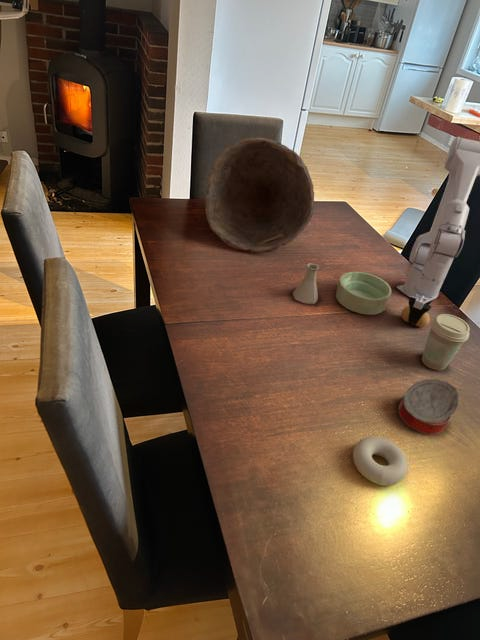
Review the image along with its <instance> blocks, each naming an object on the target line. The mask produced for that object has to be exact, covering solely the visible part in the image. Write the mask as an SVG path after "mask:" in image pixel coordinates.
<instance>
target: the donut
mask: <svg viewBox="0 0 480 640" xmlns="http://www.w3.org/2000/svg"><path fill="white" fill-rule="evenodd" d="M374 455H375V456H376V455H377V456H379V457H382V458H384V460H386V461H387V463H388V465H382V464H379V463H378V462H376V461H375V460H374V458H373V456H374ZM352 458H353V464H354V465H355V467H356V470H357V471H358V472H359V473H360V475H362V476H363V477H364V478H366V480H368V481H370V482H372V483H374V484H377V485H379V486H386V487H387V486H394V485H397V484H399V483H400V482H403V480H404V479H405V477H406V476H407V474H408V469H409V464H408V459H407V456H406V454H405V453H404V452H403V449H401V448H400V447H399V446H398V445H397V444H396V443H395V442H393V441H391V440H389V439H388V438H385V437H382V436H375V435H373V436H372V435H371V436H366V437H364V438H362V439H360V440H359V441H358V442H357V443H356V444H355V446H354V447H353V452H352Z"/></svg>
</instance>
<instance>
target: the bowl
mask: <svg viewBox="0 0 480 640" xmlns="http://www.w3.org/2000/svg"><path fill="white" fill-rule="evenodd" d="M313 183H314V182H313V181H312V178H311V175H310V173H309V169H308V166H307V165H306V164H305V163H304V160H303V159H302V158H301V156H300V155H299V154H298V153H297V152H295V150H293V149H291V148H289V147H288V146H286V145H285V144H282V142H278V141H276V140H274V139H271V138H266V137H247V138H243V139H241V140H239V141H238V142H236V143H233V144H231V145H229V146H227V147H226V148H225V149H224V150H223V151H221V153H219V154H218V156H216V158H215V161H214V162H213V163H212V164H211V166H210V169H209V176H208V181H207V185H206V195H205V198H204V203H205V204H204V205H205V207H204V208H205V209H204V210H205V215H206V221H207V222H208V224H209V227H210V229H211V231H212V232H213V233H215V234H216V235H217V237H219V238H220V239H221V240H222V241H223V243H224V244H226V245H227V246H229V247H232V248H233V249H235V250H239V251H240V250H241V251H246V252H247V251H251V253H265V252H271V251H275V250H277V249H278V248H280V247H282V246H283V247H284V246H285V245H287V244H290V243H291V242H293V241H294V240H295V239H296V238H297V237H298V236H299V235H300V234H301V233H302V232H303V231H304V230H305V229H306V228H307V226H308V224H309V223H310V221H311V220H312V218H313V214H314V210H315V191H314V184H313Z"/></svg>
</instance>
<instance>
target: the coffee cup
mask: <svg viewBox="0 0 480 640" xmlns="http://www.w3.org/2000/svg"><path fill="white" fill-rule="evenodd" d="M470 329H471V328H470V326H469V324H468V323H467V322H466V321H465V319H462V318H460V317H458V316H456V315H453V314H449V313H441V314H438V315H436V317H435V318H433V320H432V321H431V323H430V329H429V333H428V337H427V339H426V343H425V345H424V348H423V353H422V355H421V356H422V357H421V361H422V363H423V365H425V367H427V368H429V369H430V370H433V371H437V372H438V371H444V370H445V369H446V368H447V367H448V366H449V364H450V363H451V361H452V360H453V359H454V357H455V356H456V355H457V352H458V351H459V350H460V348H461V347H462V346H463V344H464V343H465V342H466V341H468V339H469V337H470Z"/></svg>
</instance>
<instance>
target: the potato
mask: <svg viewBox="0 0 480 640" xmlns="http://www.w3.org/2000/svg"><path fill="white" fill-rule="evenodd" d="M409 311H410V307H409V305H408V306H405V307H404V308H402V311H401V318H402V319H403V321H404V322H407V323H408V324H410V323H409V322H408V318H409ZM430 321H431V317H430V314H429V313H428V311H427V312H426V313H425V314H424V315H423V316H422V317H421V319H420V320H419V321H418V323H417V324H416V325H414V324H412V325H413V326H416V327H419V328H423V327H426V326H428V325H429V323H430Z"/></svg>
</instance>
